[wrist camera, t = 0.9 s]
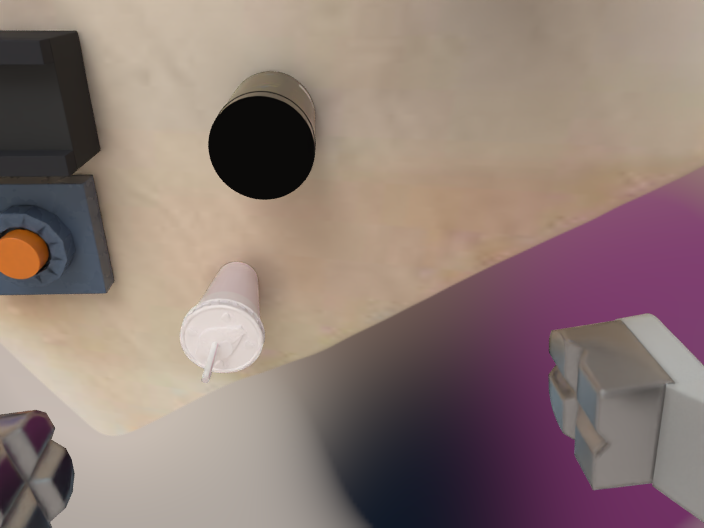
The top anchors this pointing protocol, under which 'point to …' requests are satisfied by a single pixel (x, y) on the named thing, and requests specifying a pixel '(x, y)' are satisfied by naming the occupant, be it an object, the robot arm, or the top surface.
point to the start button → (22, 254)
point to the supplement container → (265, 137)
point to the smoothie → (225, 323)
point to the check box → (58, 234)
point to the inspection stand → (44, 105)
